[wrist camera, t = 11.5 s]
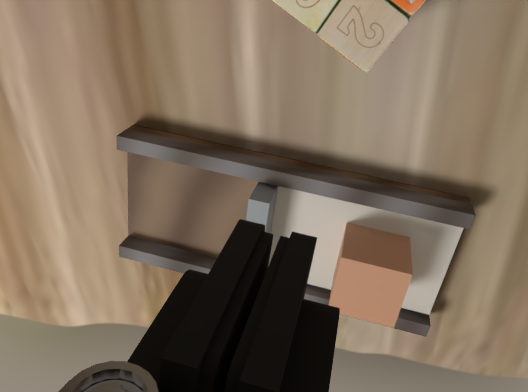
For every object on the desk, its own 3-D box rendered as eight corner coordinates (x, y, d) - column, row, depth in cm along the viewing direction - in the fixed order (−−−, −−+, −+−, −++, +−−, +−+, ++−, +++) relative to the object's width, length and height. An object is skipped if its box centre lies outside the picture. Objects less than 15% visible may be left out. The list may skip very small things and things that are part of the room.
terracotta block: (409, 237, 37) (412, 274, 33) (393, 286, 39) (393, 328, 35) (346, 222, 38) (341, 257, 33) (334, 272, 40) (327, 310, 36)
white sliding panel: (462, 221, 36) (470, 250, 33) (428, 308, 40) (432, 341, 37) (261, 176, 39) (248, 198, 35) (249, 263, 43) (236, 290, 39)
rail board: (469, 197, 36) (475, 215, 34) (424, 314, 42) (426, 336, 40) (133, 124, 40) (116, 135, 38) (133, 240, 46) (119, 256, 44)
